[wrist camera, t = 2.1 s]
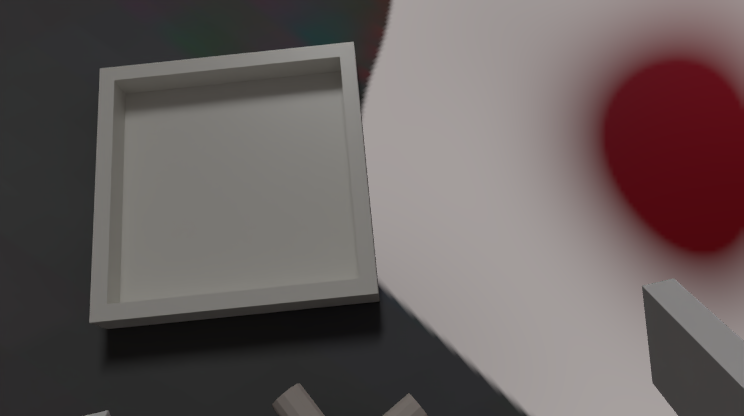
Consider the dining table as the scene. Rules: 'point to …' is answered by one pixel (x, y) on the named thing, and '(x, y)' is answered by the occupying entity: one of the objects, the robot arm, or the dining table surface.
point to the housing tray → (231, 188)
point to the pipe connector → (302, 412)
